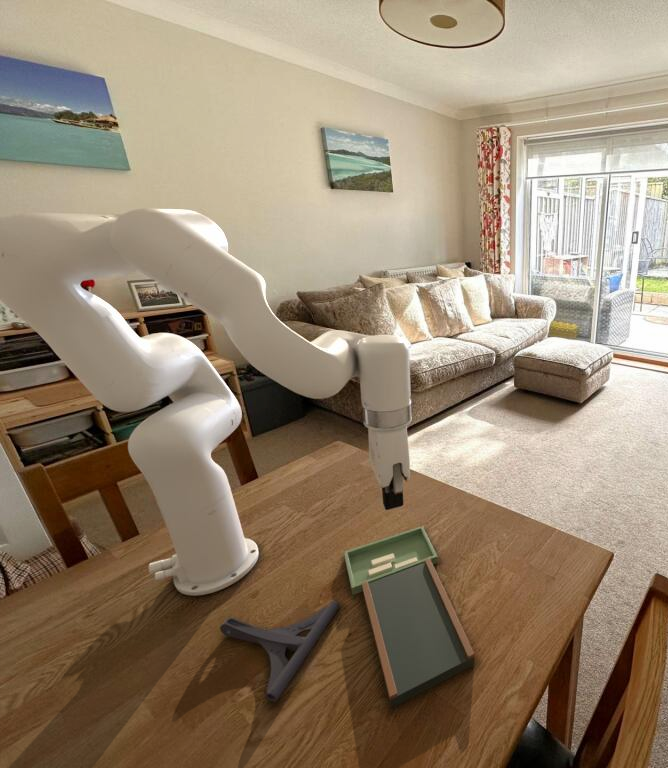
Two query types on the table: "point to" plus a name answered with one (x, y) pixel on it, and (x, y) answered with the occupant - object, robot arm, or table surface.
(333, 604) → the bracket
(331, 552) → the table surface
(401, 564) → the chalk
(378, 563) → the chalk
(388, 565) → the chalk
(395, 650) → the chalkboard
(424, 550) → the tray
